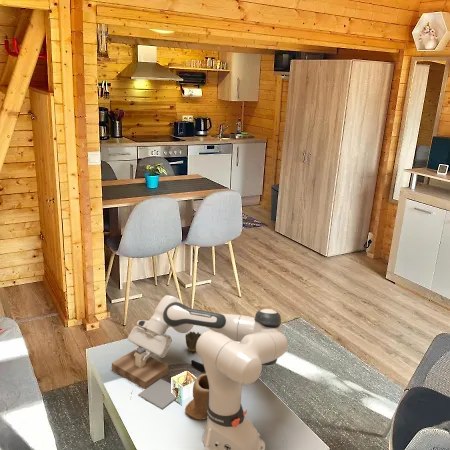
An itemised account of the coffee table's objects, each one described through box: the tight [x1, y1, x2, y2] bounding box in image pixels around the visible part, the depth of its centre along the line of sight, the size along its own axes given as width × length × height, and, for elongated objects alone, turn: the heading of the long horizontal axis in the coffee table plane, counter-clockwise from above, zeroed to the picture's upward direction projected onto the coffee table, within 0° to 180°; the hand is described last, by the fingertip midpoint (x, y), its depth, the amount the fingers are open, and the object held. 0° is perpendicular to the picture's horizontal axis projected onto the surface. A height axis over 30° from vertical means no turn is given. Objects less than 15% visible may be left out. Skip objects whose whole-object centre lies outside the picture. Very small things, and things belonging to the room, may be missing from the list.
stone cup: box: [184, 373, 209, 420], centre depth 174 cm, size 15×12×15 cm
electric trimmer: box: [190, 359, 206, 374], centre depth 199 cm, size 4×16×3 cm, turn 56°
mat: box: [137, 378, 178, 410], centre depth 184 cm, size 13×13×1 cm
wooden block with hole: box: [111, 348, 170, 390], centre depth 196 cm, size 20×14×4 cm
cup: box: [185, 331, 202, 353], centre depth 213 cm, size 8×7×8 cm
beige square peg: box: [134, 347, 147, 368], centre depth 195 cm, size 3×3×10 cm
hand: (139, 358), depth 194 cm, fingers closed on beige square peg, 3 cm apart
